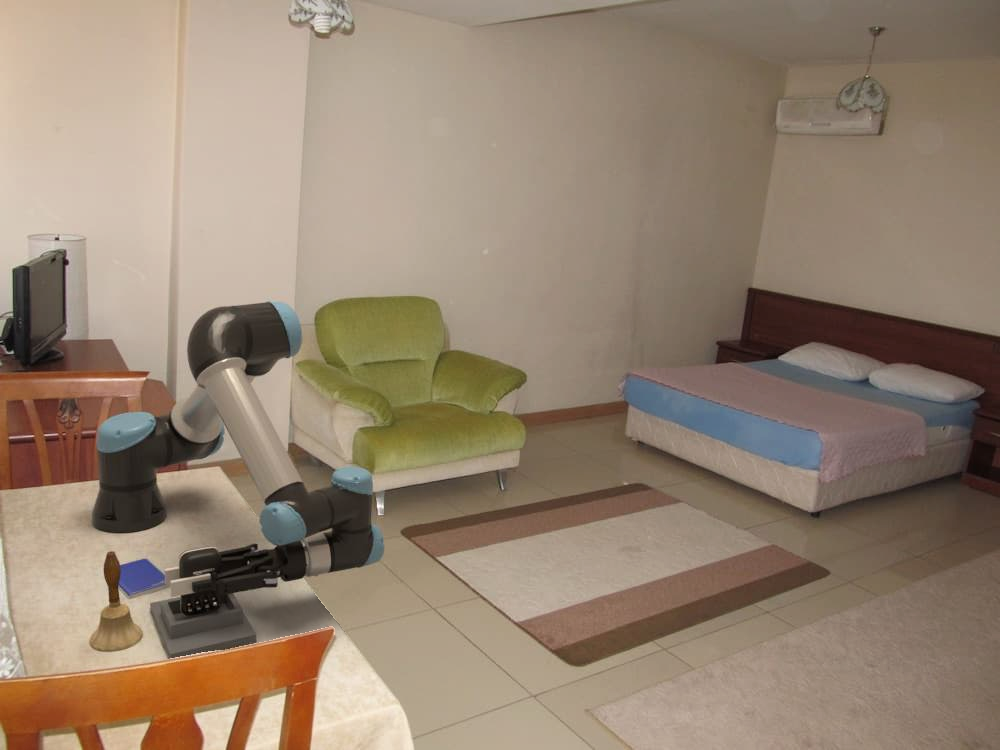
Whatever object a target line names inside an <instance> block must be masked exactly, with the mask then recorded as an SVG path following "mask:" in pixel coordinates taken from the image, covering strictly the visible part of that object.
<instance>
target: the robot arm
mask: <svg viewBox="0 0 1000 750" xmlns="http://www.w3.org/2000/svg"><path fill="white" fill-rule="evenodd" d="M302 331H303V330H302V326H301V322H300V320H299V317H298V315H297V313H296V312H295V310H294V309H293V308H292V307H291V306H290V305H289V304H287V303H286V302H284V301H283V302H282V301H271V300H270V301H266V302H258V303H257V302H256V303H251V304H250V303H249V304H240V305H239V304H237V305H231V306H227V305H225V306H224V305H223V306H218V307H215V308H211V309H210V310H208V311H207V310H206V312H205V313H203V314H202V315H201V316H200V317H199V318H198V319H197V320H195V322H194V324H193V326H192V327H191V330H190V332H189V336H188V341H187V344H186V345H187V346H186V347H187V348H186V350H187V351H186V352H187V353H186V355H187V362H188V367H189V370H190V373H191V375H192V377H193V379H194V381H195V383H196V385H197V386H196V387H195V388H194V390H193V391H192V393H191V394H190V396H189V397H187V398H183V399H180V400H179V401H177V402H176V403H175V405H174V406H172V408H171V410H170V411H169V412H168V413H166V414H162V415H156V416H154V415H153V414H152V413H150V412H147V411H134V412H131V411H129V412H124V413H120V414H117V415H113V416H111V417H109V418H107V419H105V420H103V422H101V423H100V425H99V426H98V427H97V433H96V434H97V435H96V449H97V464H98V466H97V467H98V479H99V481H98V483H99V489H98V493H97V495H96V499H95V503H94V505H93V509H92V512H91V516H92V517H91V518H92V519H91V520H92V525H93V526H94V527H95V528H96V529H98V530H101V531H105V532H109V533H110V532H111V533H132V532H133V533H134V532H139V531H144V530H147V529H150V528H153V527H155V526H158V525H160V524H161V523H162V522H164V520H165V519H166V518H167V506H166V503H165V499H164V497H163V496H162V493H161V490H160V488H159V486H158V479H157V477H158V476H157V470H159V469H162V468H163V469H164V468H166V467H170V466H175V465H176V466H177V465H179V464H184V463H188V462H192V461H196V460H203V459H206V458H208V457H210V456H213V455H215V454H216V453H217V452H218V451H219V450H220V449H221V447H222V446H223V443H224V441H225V437H224V435H225V434H226V433H225V430H226V431H227V432H228V435H229V436H230V438H231V441H232V443H233V444H234V446H235V448H236V450H237V452H238V454H239V455H240V458H241V460H242V461H243V464H244V465H245V468H246V470H247V471H248V474H249V475H250V477H251V480H252V481H253V483H254V485H255V487H256V489H257V491H258V493H259V495H260V497H261V498H262V499H261V500H262V501H263V503H264V504H265V506H264V507H263V508H262V509H261V511H260V514H259V524H260V525H261V528H260V530H261V532H262V534H263V536H264V537H265V538H264V539H266V540H267V541H268V542H269V543H270V544H272V545H273V546H275V547H274V548H271V549H270V548H269V549H266V548H264V549H262V550H261V549H259V545H258V544H257V543H251V544H249V545H246V546H243V547H242V546H241V547H237V548H233V549H227V550H223V551H219V554H220V555H221V559H222V573H220V574H216V573H215V572H212V579H211V574H210V573H209V574H203V575H198V576H193V577H188V578H182V579H179V575H178V566H175V567H169V568H164V575H165V584H166V585H169V584H170V587H169V590H170V597H171V598H177V597H180V596H181V595H186V594H191V593H196V592H201V591H206V590H211V589H212V590H213V591H219V595H226V594H231V593H233V594H236V593H241V592H246V591H252V590H253V591H254V590H259V589H264V588H267V589H268V588H277V587H278V585H279V584H278V579H279V578H280V579H281V580H282V582H284V583H285V582H287V583H288V582H293V581H298V580H302V579H303V578H304V577H306V578H310V577H318V576H321V575H324V574H329V573H336V572H340V571H345V570H351V569H355V568H357V569H360V568H363V567H366V566H370V565H373V564H376V563H379V562H380V561H381V559H383V556H384V554H385V542H384V535H383V532H382V531H381V530H382V529H380V527H379V526H378V525H376V524H373V523H372V512H373V496H374V489H373V488H374V487H373V486H374V485H373V476H372V473H371V472H370V471H369V470H367V469H366V468H363V467H359V466H343V467H340V468H338V469H336V470H335V471H333V472H332V475H331V476H332V477H331V481H330V483H331V484H330V485H327V486H324V487H320V488H319V489H315V490H312V491H308V489H307V487H306V486H305V484H304V482H303V480H302V478H301V476H300V474H299V472H298V470H297V468H296V466H295V465H294V463H293V461H292V459H291V457H290V455H289V453H288V452H287V450H286V448H285V445H284V444H283V442H282V440H281V438H280V436H279V433H277V431H276V429H275V427H274V425H273V423H272V421H271V419H270V417H269V415H268V413H267V412H266V410H265V408H264V405H263V404H262V402H261V400H260V398H259V397H258V395H257V393H256V390H255V389H254V386H253V385H252V383H253V381H254V379H255V378H257V377H258V378H259V377H262V376H265V375H266V374H268V373H269V372H270V371H271V370H272V369H273V368H274V367H275V365H276V364H277V363H278V362H279V360H281V359H290V358H291V357H294V356H296V355H297V354H298V353H299V352H300V350H301V347H302V345H303V344H302V343H303V334H302V333H303V332H302ZM328 530H330V531H328ZM325 531H327V532H325ZM226 588H227V589H226Z"/></svg>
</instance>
